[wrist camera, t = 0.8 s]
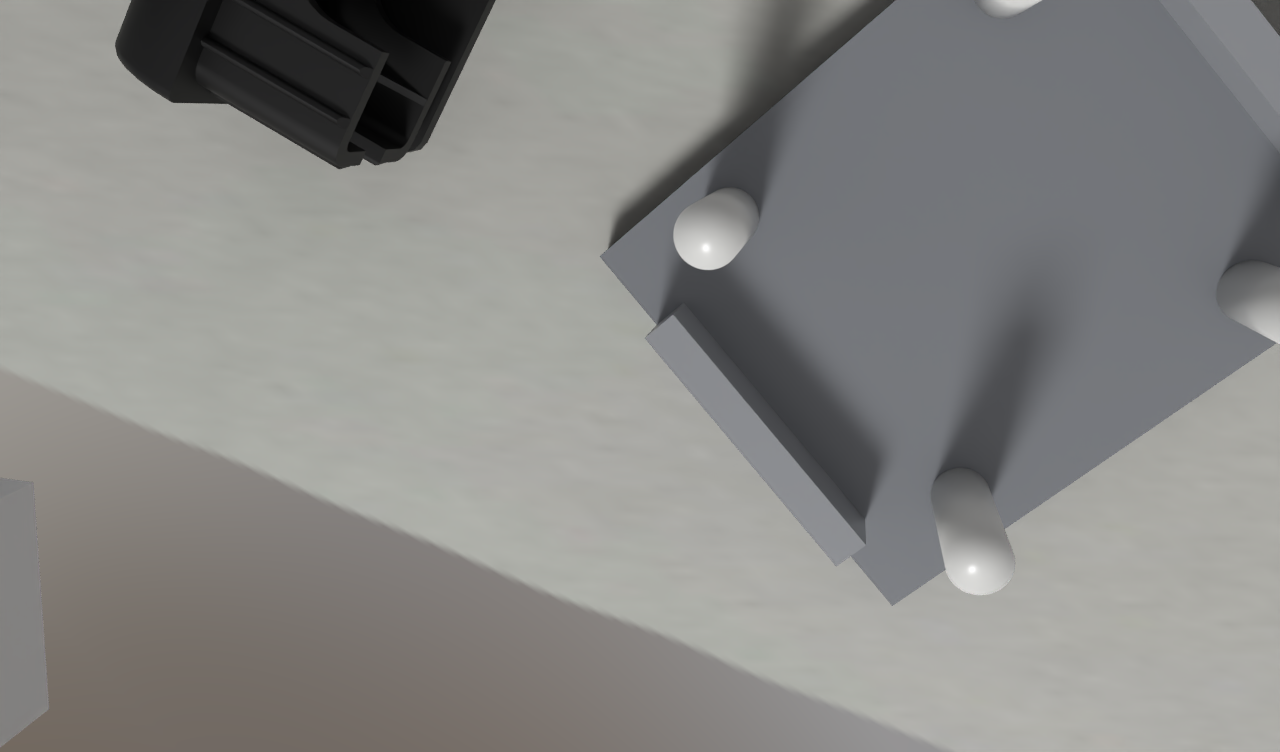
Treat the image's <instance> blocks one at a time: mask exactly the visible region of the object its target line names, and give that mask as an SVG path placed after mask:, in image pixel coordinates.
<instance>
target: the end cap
mask: <svg viewBox="0 0 1280 752" xmlns="http://www.w3.org/2000/svg"><path fill="white" fill-rule="evenodd" d="M494 2H495V0H131V3H130V6H129V8H128V11H127V13H126V16H125V19H124V21H123V24H122V26H121V29H120V32H119V34H118V37H117V40H116V43H115V47H116V52H117V56H118V58H119V59H120V61H121V62H122V64H123V65H124V66H125V68H127V69H128V70H129V71H130V72H131V73H132V74H133V75H134V76H135V77H136V78H137V79H138V80H140V81H141V82H142V83H144V84H145V85H146V86H148V87H149V88H151V89H152V90H153V91H155V92H156V93H158V94H160V95H161V96H163V97H164V98H166V99H167V100H169V101H171V102H173V103H214V104H229V105H231V106H233V107H234V108H236V109H238V110H239V111H241V112H243V113H244V114H246V115H248V116H250V117H251V118H253V119H255V120H256V121H258V122H260V123H261V124H263V125H265V126H266V127H268V128H270V129H272V130H273V131H275V132H277V133H278V134H280V135H282V136H283V137H285V138H287V139H289V140H290V141H292V142H294V143H295V144H297V145H299V146H300V147H302V148H304V149H305V150H307V151H309V152H311V153H312V154H314V155H316V156H317V157H319V158H321V159H322V160H324V161H326V162H328V163H329V164H331V165H333V166H334V167H336V168H338V169H342V168H346V167H349V166H355V165H360V163H361V161H362V159H365V160H367V161H368V162H370V163H372V164H374V165H379V164H383V163H386V162H396V161H398V160H400V159H401V158H402V157H403V156H404V155H405V154H406V153H407V152H413V151H416V150H420V149H422V148H423V146H424V145H425V144H426V143H427V142H428V140H429V138H430V136H431V134H432V131H433V129H434V127H435V125H436V123H437V121H438V119H439V117H440V115H441V113H442V111H443V109H444V106H445V104H446V102H447V100H448V98H449V96H450V94H451V92H452V90H453V88H454V86H455V84H456V81H457V79H458V77H459V75H460V73H461V71H462V69H463V67H464V65H465V63H466V61H467V59H468V56H469V54H470V52H471V50H472V48H473V46H474V44H475V42H476V40H477V38H478V36H479V34H480V31H481V29H482V27H483V25H484V23H485V21H486V19H487V17H488V15H489V13H490V11H491V8H492V6H493V4H494Z"/></svg>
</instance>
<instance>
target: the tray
mask: <svg viewBox="0 0 1280 752" xmlns="http://www.w3.org/2000/svg"><path fill="white" fill-rule="evenodd" d="M600 257H601V259H602V260H603V261H604V262H605V263H606V265H607V266H608V267H609V268H610V269H611V271H612V272H613V273H614V274H615V275H616V277H617V278H618V279H619V280H620V281H621V283H622V284H623V285H624V286H625V287H626V288H627V290H628V291H629V292H630V293H631V294H632V296H633V297H634V298H635V299H636V300H637V302H638V303H639V304H640V305H641V306H642V308H643V309H644V310H645V311H646V312H647V314H648V315H649V316H650V317H651V318H652V320H653V321H654V322H655V323H656V324H657V325H656V326H655V327H654V329H653V330H652V331H651V332H650V333H649V334H648V335H647V336H646V337H645V339H646V340H647V341H648V343H649V344H650V345H651V346H652V347H653V349H654V350H655V351H656V352H657V353H658V355H659V356H660V357H661V358H662V359H663V361H664V362H665V363H666V364H667V365H668V367H669V368H670V369H671V370H672V371H673V372H674V374H675V375H676V376H677V377H678V378H679V380H680V381H681V382H682V383H683V384H684V386H685V387H686V388H687V389H688V390H689V392H690V393H691V394H692V395H693V396H694V397H695V399H696V400H697V401H698V402H699V403H700V405H701V406H702V407H703V408H704V409H705V411H706V412H707V413H708V414H709V415H710V417H711V418H712V419H713V420H714V421H715V422H716V424H717V425H718V426H719V427H720V428H721V430H722V431H723V432H724V433H725V434H726V436H727V437H728V438H729V439H730V440H731V442H732V443H733V444H734V445H735V446H736V448H737V449H738V450H739V451H740V452H741V453H742V455H743V456H744V457H745V458H746V459H747V461H748V462H749V463H750V464H751V465H752V467H753V468H754V469H755V470H756V471H757V473H758V474H759V475H760V476H761V477H762V478H763V480H764V481H765V482H766V483H767V484H768V486H769V487H770V488H771V489H772V490H773V492H774V493H775V494H776V495H777V496H778V498H779V499H780V500H781V501H782V502H783V503H784V505H785V506H786V507H787V508H788V509H789V511H790V512H791V513H792V514H793V515H794V517H795V518H796V519H797V520H798V521H799V523H800V524H801V525H802V526H803V527H804V529H805V530H806V531H807V532H808V533H809V534H810V536H811V537H812V538H813V539H814V540H815V542H816V543H817V544H818V545H819V546H820V548H821V549H822V550H823V551H824V552H825V554H826V555H827V556H828V557H829V558H830V559H831V561H832V562H833V563H834V564H835V565H836V566H838V565H839V564H840V563H842V562H843V561H845V560H846V559H847V558H849V557H850V556H851V557H852V558H853V559H854V561H855V562H856V563H857V564H858V565H859V567H860V568H861V569H862V570H863V571H864V573H865V574H866V575H867V576H868V577H869V578H870V580H871V581H872V582H873V583H874V584H875V586H876V587H877V588H878V589H879V590H880V592H881V593H882V594H883V595H884V596H885V598H886V599H887V600H888V601H889V602H890V604H891V605H892V606H893V605H894V604H896V603H897V602H899V601H900V600H902V599H903V598H905V597H906V596H907V595H909V594H910V593H912V592H913V591H915V590H916V589H918V588H919V587H921V586H922V585H924V584H925V583H926V582H928V581H929V580H931V579H932V578H934V577H935V576H937V575H938V574H940V573H941V572H943V571H944V570H945V569H946V573H947V575H948V577H949V579H950V580H951V582H952V583H953V584H954V585H955V586H956V587H957V588H959V589H960V590H962V591H964V592H966V593H969V594H974V595H987V594H991V593H994V592H996V591H998V590H1000V589H1002V588H1003V587H1004V586H1005V585H1006V584H1007V583H1008V582H1009V581H1010V579H1011V578H1012V576H1013V573H1014V570H1015V557H1014V553H1013V551H1012V548H1011V545H1010V543H1009V540H1008V537H1007V535H1006V532H1005V528H1007V527H1008V526H1010V525H1011V524H1013V523H1014V522H1016V521H1017V520H1019V519H1020V518H1021V517H1023V516H1024V515H1026V514H1027V513H1029V512H1030V511H1032V510H1033V509H1035V508H1036V507H1038V506H1039V505H1040V504H1042V503H1043V502H1045V501H1046V500H1048V499H1049V498H1051V497H1052V496H1054V495H1055V494H1057V493H1058V492H1059V491H1061V490H1062V489H1064V488H1065V487H1067V486H1068V485H1070V484H1071V483H1073V482H1074V481H1076V480H1077V479H1078V478H1080V477H1081V476H1083V475H1084V474H1086V473H1087V472H1089V471H1090V470H1092V469H1093V468H1095V467H1096V466H1097V465H1099V464H1100V463H1102V462H1103V461H1105V460H1106V459H1108V458H1109V457H1111V456H1112V455H1114V454H1115V453H1116V452H1118V451H1119V450H1121V449H1122V448H1124V447H1125V446H1127V445H1128V444H1130V443H1131V442H1133V441H1134V440H1135V439H1137V438H1138V437H1140V436H1141V435H1143V434H1144V433H1146V432H1147V431H1149V430H1150V429H1152V428H1153V427H1154V426H1156V425H1157V424H1159V423H1160V422H1162V421H1163V420H1165V419H1166V418H1168V417H1169V416H1171V415H1172V414H1173V413H1175V412H1176V411H1178V410H1179V409H1181V408H1182V407H1184V406H1185V405H1187V404H1188V403H1190V402H1191V401H1192V400H1194V399H1195V398H1197V397H1198V396H1200V395H1201V394H1203V393H1204V392H1206V391H1207V390H1209V389H1210V388H1211V387H1213V386H1214V385H1216V384H1217V383H1219V382H1220V381H1222V380H1223V379H1225V378H1226V377H1227V376H1229V375H1230V374H1232V373H1233V372H1235V371H1236V370H1238V369H1239V368H1241V367H1242V366H1244V365H1245V364H1246V363H1248V362H1249V361H1251V360H1252V359H1254V358H1255V357H1257V356H1258V355H1260V354H1261V353H1263V352H1264V351H1265V350H1267V349H1268V348H1270V347H1271V346H1273V345H1274V344H1276V343H1278V344H1280V36H1279V35H1278V34H1277V32H1276V31H1275V30H1274V28H1273V27H1272V26H1271V25H1270V23H1269V22H1268V21H1267V20H1266V18H1265V17H1264V16H1263V14H1262V13H1261V12H1260V11H1259V9H1258V8H1257V7H1256V6H1255V4H1254V3H1253V2H1252V0H895V1H894V2H893V3H892V4H891V5H890V6H888V7H887V8H886V9H885V10H884V11H883V12H882V13H880V14H879V15H878V16H877V17H876V18H875V19H873V20H872V21H871V22H870V23H869V24H868V25H867V26H865V27H864V28H863V29H862V30H861V31H860V32H858V33H857V34H856V35H855V36H854V37H853V38H851V39H850V40H849V41H848V42H847V43H846V44H845V45H843V46H842V47H841V48H840V49H839V50H838V51H836V52H835V53H834V54H833V55H832V56H831V57H830V58H828V59H827V60H826V61H825V62H824V63H823V64H821V65H820V66H819V67H818V68H817V69H816V70H814V71H813V72H812V73H811V74H810V75H809V76H808V77H806V78H805V79H804V80H803V81H802V82H801V83H799V84H798V85H797V86H796V87H795V88H794V89H793V90H791V91H790V92H789V93H788V94H787V95H786V96H784V97H783V98H782V99H781V100H780V101H779V102H777V103H776V104H775V105H774V106H773V107H772V108H771V109H769V110H768V111H767V112H766V113H765V114H764V115H762V116H761V117H760V118H759V119H758V120H757V121H756V122H754V123H753V124H752V125H751V126H750V127H749V128H747V129H746V130H745V131H744V132H743V133H742V134H740V135H739V136H738V137H737V138H736V139H735V140H734V141H732V142H731V143H730V144H729V145H728V146H727V147H725V148H724V149H723V150H722V151H721V152H720V153H719V154H717V155H716V156H715V157H714V158H713V159H712V160H710V161H709V162H708V163H707V164H706V165H705V166H703V167H702V168H701V169H700V170H699V171H698V172H697V173H695V174H694V175H693V176H692V177H691V178H690V179H688V180H687V181H686V182H685V183H684V184H683V185H682V186H680V187H679V188H678V189H677V190H676V191H675V192H673V193H672V194H671V195H670V196H669V197H668V198H666V199H665V200H664V201H663V202H662V203H661V204H660V205H658V206H657V207H656V208H655V209H654V210H653V211H651V212H650V213H649V214H648V215H647V216H646V217H645V218H643V219H642V220H641V221H640V222H639V223H638V224H636V225H635V226H634V227H633V228H632V229H631V230H630V231H628V232H627V233H626V234H625V235H624V236H623V237H621V238H620V239H619V240H618V241H617V242H616V243H614V244H613V245H612V246H611V247H610V248H609V249H608V250H606V251H605V252H604V253H603V254H602V255H601V256H600Z"/></svg>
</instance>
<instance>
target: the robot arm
mask: <svg viewBox="0 0 1280 752" xmlns="http://www.w3.org/2000/svg"><path fill="white" fill-rule="evenodd" d="M45 658H46V657H45V644H44V629H43V614H42V599H41V586H40V571H39V557H38V541H37V527H36V512H35V498H34V483H33V482H27V481H20V480H13V479H4V478H0V747H1V746H3V745H4V744H5V743H7V742H8V741H9V740H10V739H12V738H13V737H14V736H15V735H17V734H18V733H19V732H20V731H22V730H23V729H24V728H26V727H27V726H28V725H29V724H31V723H32V722H33V721H34V720H36V719H37V718H38V717H39V716H41V715H42V714H43V713H45V712H46V711H47V710H48V709H49V702H48V701H49V700H48V687H47V672H46V659H45Z"/></svg>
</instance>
